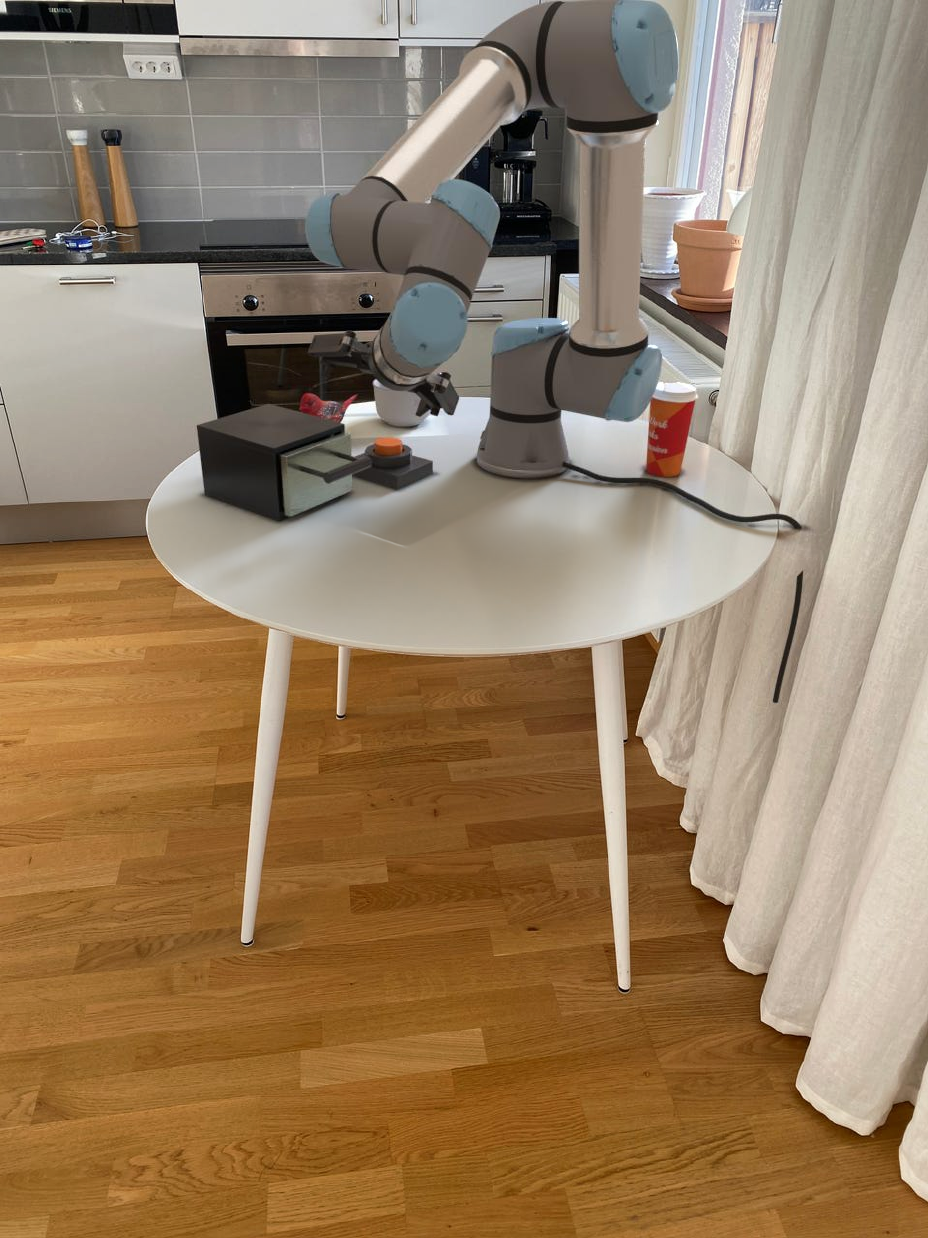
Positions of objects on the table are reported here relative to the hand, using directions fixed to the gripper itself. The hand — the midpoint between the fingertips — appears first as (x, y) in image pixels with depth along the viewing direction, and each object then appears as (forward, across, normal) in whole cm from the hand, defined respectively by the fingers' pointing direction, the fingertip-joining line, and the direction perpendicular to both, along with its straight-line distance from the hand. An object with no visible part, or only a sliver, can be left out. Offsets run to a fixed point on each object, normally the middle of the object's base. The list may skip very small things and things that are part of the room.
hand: (375, 387), depth 129 cm
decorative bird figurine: (+37, -1, -3) cm, 37 cm away
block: (+21, +8, -7) cm, 23 cm away
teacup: (+46, +11, +7) cm, 47 cm away
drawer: (+12, -4, -16) cm, 21 cm away
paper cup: (+14, +50, +9) cm, 53 cm away
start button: (+19, +7, -4) cm, 21 cm away
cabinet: (+16, -7, -17) cm, 24 cm away
